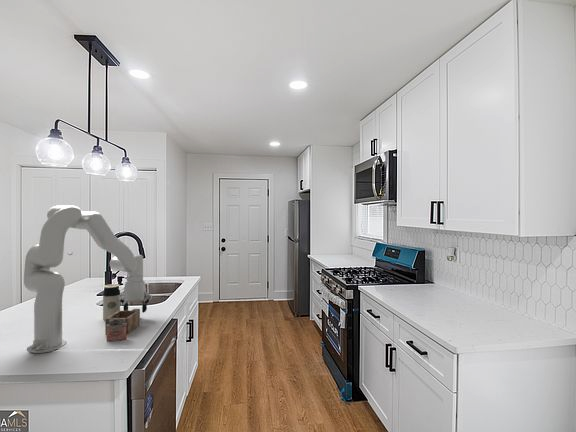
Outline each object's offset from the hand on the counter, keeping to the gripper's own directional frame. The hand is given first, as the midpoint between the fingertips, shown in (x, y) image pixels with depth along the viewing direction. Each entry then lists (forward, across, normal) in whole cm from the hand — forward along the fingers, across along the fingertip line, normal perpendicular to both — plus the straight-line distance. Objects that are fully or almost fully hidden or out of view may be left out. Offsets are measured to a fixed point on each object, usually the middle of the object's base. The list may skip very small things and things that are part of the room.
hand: (135, 311), depth 177 cm
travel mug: (+5, -13, +2) cm, 14 cm away
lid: (+5, 0, 0) cm, 5 cm away
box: (+5, +1, -16) cm, 17 cm away
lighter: (+5, +4, -29) cm, 30 cm away
